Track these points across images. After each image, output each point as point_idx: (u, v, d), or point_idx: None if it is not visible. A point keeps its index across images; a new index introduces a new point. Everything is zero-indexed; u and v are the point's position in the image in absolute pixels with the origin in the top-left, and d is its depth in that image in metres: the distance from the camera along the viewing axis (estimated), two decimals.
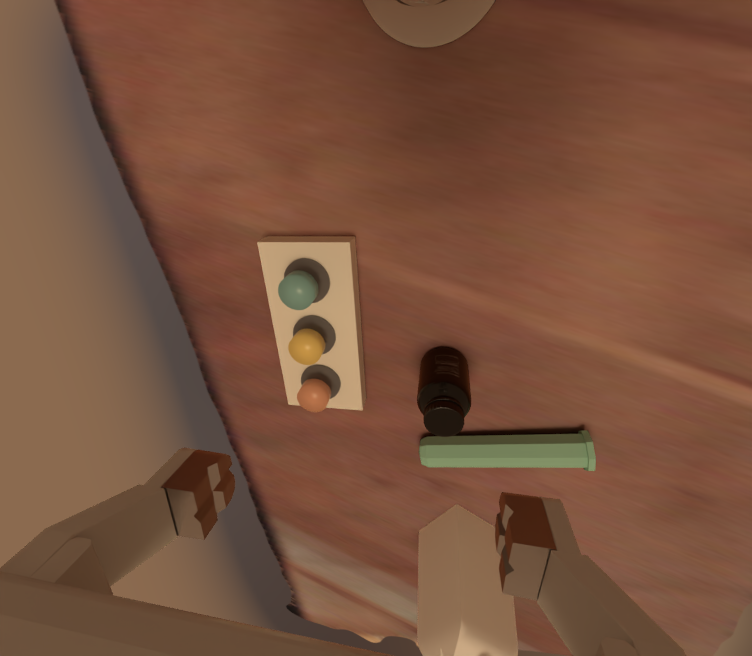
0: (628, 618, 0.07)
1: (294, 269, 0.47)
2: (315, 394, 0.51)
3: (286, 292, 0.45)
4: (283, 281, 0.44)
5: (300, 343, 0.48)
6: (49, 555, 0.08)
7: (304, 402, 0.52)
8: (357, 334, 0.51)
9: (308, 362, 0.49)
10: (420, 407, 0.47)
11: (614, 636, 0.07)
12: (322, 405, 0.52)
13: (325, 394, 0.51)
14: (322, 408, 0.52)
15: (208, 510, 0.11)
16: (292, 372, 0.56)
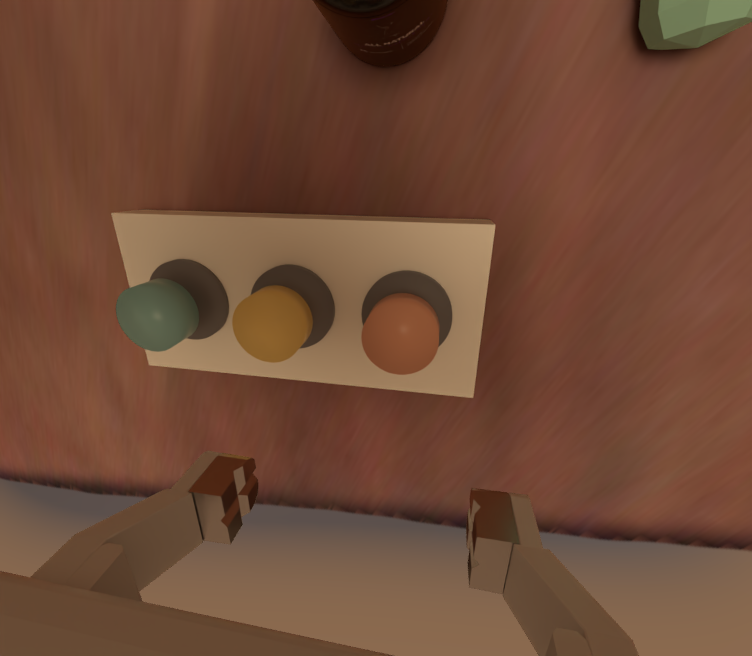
0: (582, 609, 0.07)
1: None
2: (382, 328, 0.21)
3: (150, 336, 0.24)
4: (131, 336, 0.24)
5: (250, 334, 0.23)
6: (81, 562, 0.08)
7: (409, 359, 0.21)
8: (289, 217, 0.24)
9: (295, 327, 0.22)
10: None
11: (568, 627, 0.07)
12: (416, 318, 0.20)
13: (385, 304, 0.21)
14: (425, 319, 0.20)
15: (234, 514, 0.10)
16: None
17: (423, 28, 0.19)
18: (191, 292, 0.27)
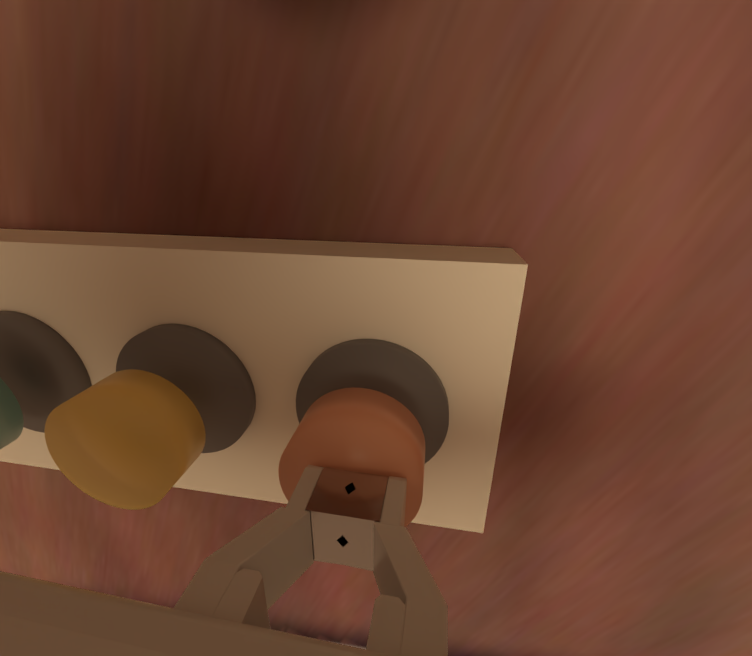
0: (412, 579, 0.08)
1: None
2: (315, 465, 0.11)
3: None
4: None
5: (81, 463, 0.12)
6: (222, 590, 0.07)
7: None
8: (168, 246, 0.14)
9: (155, 458, 0.12)
10: None
11: (400, 595, 0.08)
12: (377, 451, 0.10)
13: (319, 422, 0.11)
14: (396, 456, 0.10)
15: None
16: None
17: None
18: (24, 364, 0.16)
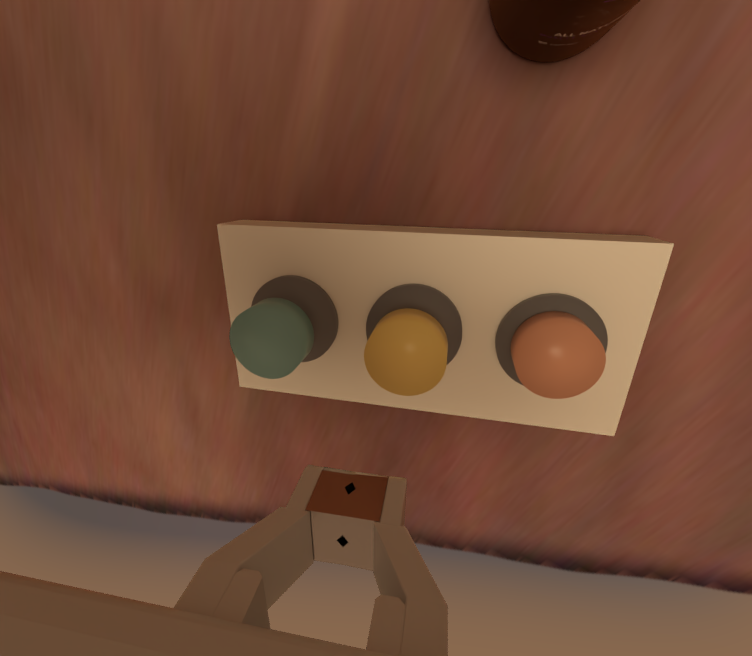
0: (412, 579, 0.08)
1: None
2: (541, 350, 0.20)
3: (265, 362, 0.22)
4: (243, 362, 0.22)
5: (384, 364, 0.20)
6: (222, 590, 0.07)
7: (566, 383, 0.20)
8: (419, 232, 0.22)
9: (440, 358, 0.19)
10: None
11: (400, 595, 0.08)
12: (582, 339, 0.19)
13: (547, 323, 0.19)
14: (594, 341, 0.19)
15: None
16: (515, 401, 0.24)
17: (623, 15, 0.16)
18: None
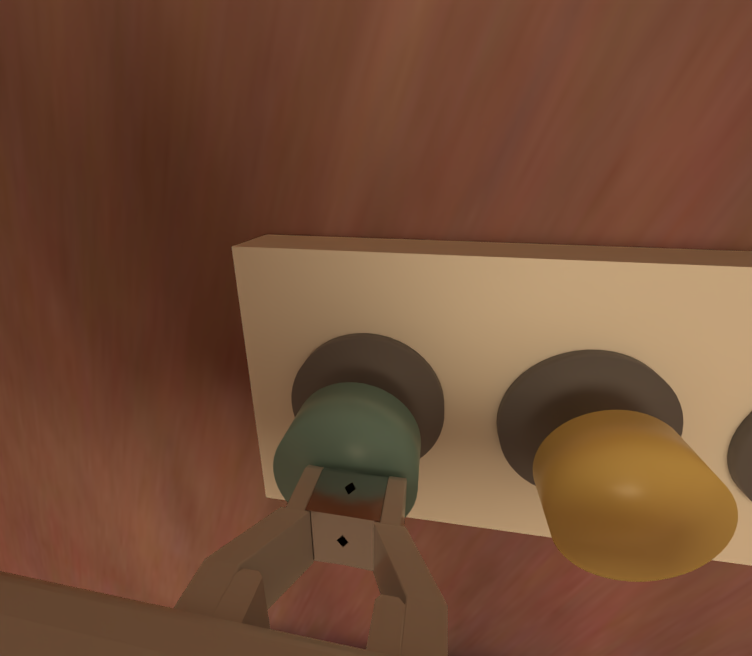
0: (412, 579, 0.08)
1: None
2: None
3: None
4: None
5: (591, 529, 0.10)
6: (222, 590, 0.07)
7: None
8: (615, 259, 0.12)
9: (721, 526, 0.09)
10: None
11: (400, 595, 0.08)
12: None
13: None
14: None
15: None
16: (741, 533, 0.14)
17: None
18: None
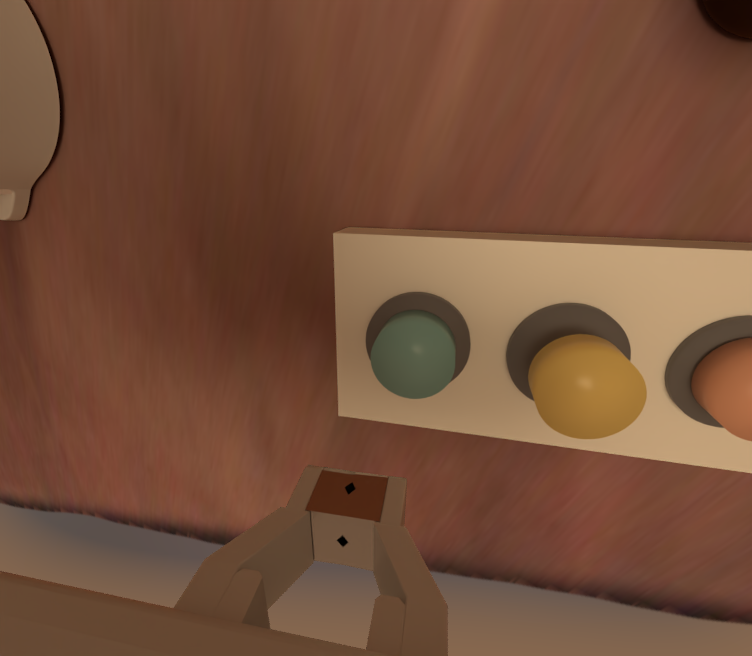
0: (412, 579, 0.08)
1: None
2: None
3: (409, 381, 0.20)
4: (382, 380, 0.20)
5: (561, 402, 0.17)
6: (222, 590, 0.07)
7: None
8: (584, 242, 0.18)
9: (637, 397, 0.16)
10: None
11: (400, 596, 0.08)
12: None
13: None
14: None
15: None
16: (679, 438, 0.21)
17: None
18: None
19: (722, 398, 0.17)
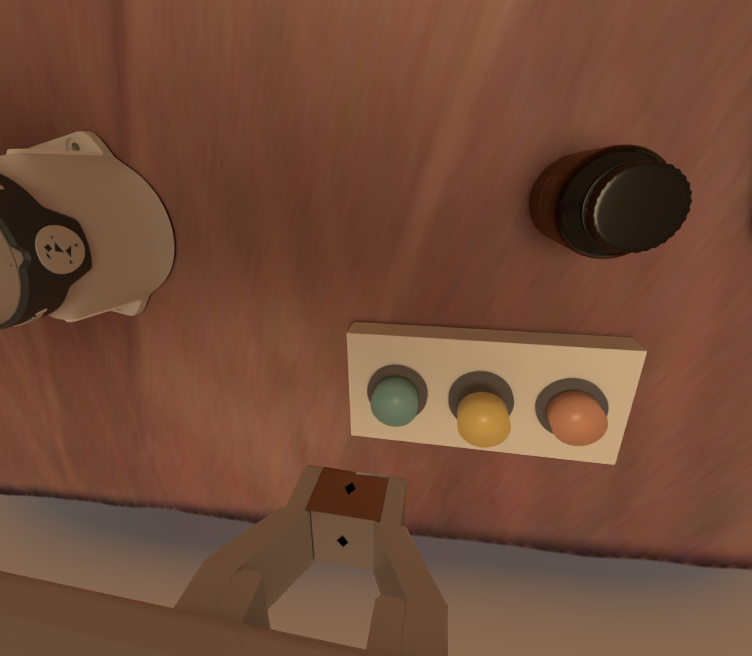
0: (412, 579, 0.08)
1: None
2: (568, 417, 0.32)
3: (392, 417, 0.35)
4: (377, 416, 0.35)
5: (470, 428, 0.32)
6: (222, 590, 0.07)
7: (584, 437, 0.32)
8: (485, 339, 0.34)
9: (506, 425, 0.31)
10: (615, 253, 0.23)
11: (400, 595, 0.08)
12: (593, 412, 0.31)
13: (571, 402, 0.31)
14: (600, 413, 0.31)
15: None
16: (548, 443, 0.36)
17: None
18: None
19: (554, 424, 0.32)
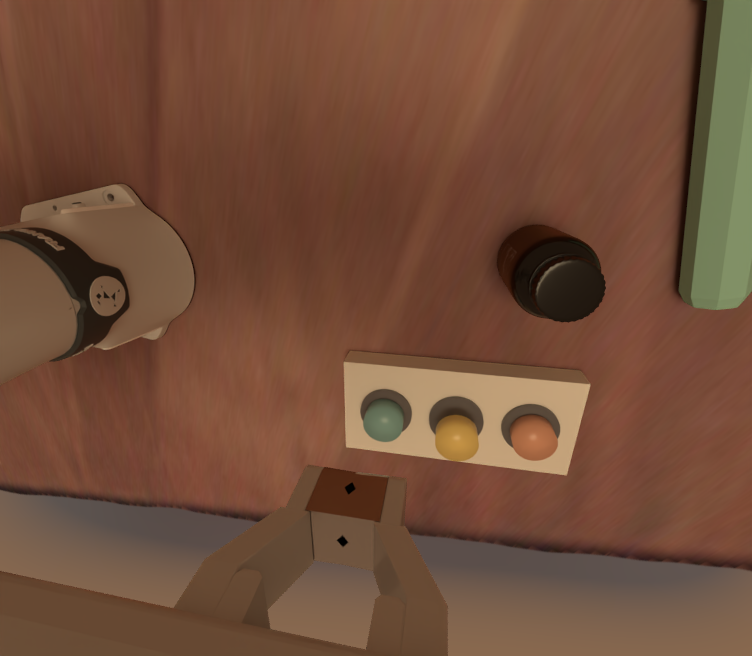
0: (412, 579, 0.08)
1: None
2: (526, 437, 0.38)
3: (381, 434, 0.41)
4: (369, 433, 0.42)
5: (445, 446, 0.39)
6: (222, 590, 0.07)
7: (539, 453, 0.39)
8: (460, 370, 0.40)
9: (475, 444, 0.38)
10: None
11: (400, 596, 0.08)
12: (546, 433, 0.38)
13: (529, 425, 0.38)
14: (551, 434, 0.38)
15: None
16: (512, 457, 0.43)
17: None
18: None
19: (514, 442, 0.39)
